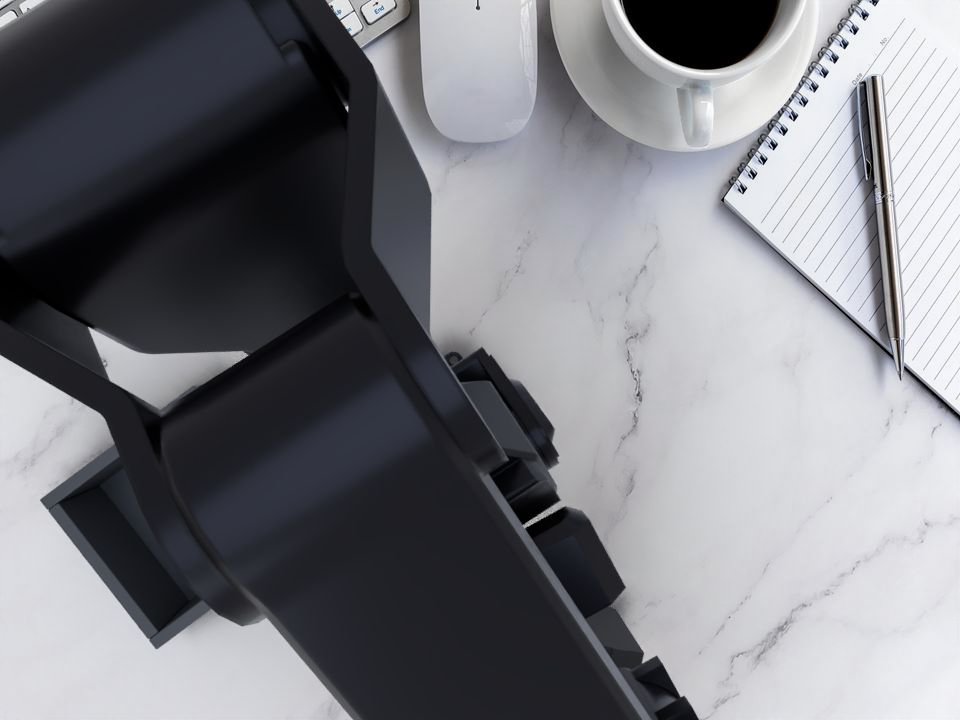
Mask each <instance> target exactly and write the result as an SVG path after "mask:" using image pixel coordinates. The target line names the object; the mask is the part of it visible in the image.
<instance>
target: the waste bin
mask: <svg viewBox="0 0 960 720" xmlns="http://www.w3.org/2000/svg"><path fill="white" fill-rule="evenodd" d="M203 384H204V383H203ZM203 384H197V385H192V386H191V387H189V388H188V389H186V390H185V391H184V392H183V393H181V394H179V396H177V397H176V398H174V399H173V400H172V401H170V402H169V403H168V404H167V405H165V406H163V408H161V409H160V410H161V411H163V412H164V411H165V408H167V407H168V406H170V405H171V404H173V403H175V402H176V401H178V400H179V399H181V398H182V397H184V396H186V395H187V394H189V393H190V392H192V391H193V390H195V389H196V388H198V387H200V386H201V385H203ZM39 501H40V503H41V504H42V506H43V507H44V508H45V509H46V510H47V511H48V513H49V514H50V516H51V517H52V518H53V520H54V521H55V522H56V524H58V526H59V527H60V529H62V531H63V532H64V533H65V535H66V536H67V537H68V539H69V540H70V542H72V544H73V545H74V546H75V548H76V549H77V550H78V551H79V553H80V554H81V555H82V557H83V558H84V559H85V560H86V562H87V563H88V564H89V566H90V567H91V568H92V569H93V571H94V572H95V574H96V575H98V577H99V578H100V580H101V582H103V583H104V585H105V586H106V587H107V589H108V590H109V591H110V592H111V594H112V595H113V596H114V598H115V599H116V600H117V601H118V603H119V604H120V605H121V607H122V608H123V609H124V610H125V612H126V614H128V616H129V617H130V618H131V620H132V621H133V622H134V624H136V626H137V627H138V628H139V630H140V631H141V632H142V634H143V635H144V636H145V637H146V638H147V640H148V641H149V642H150V644H151V645H152V646H153V647H154V649H155V650H159V649H160V648H161V647H163V646H164V645H165V644H167V643H169V641H171V640H172V639H173V638H174V637H176V636H177V635H178V634H180V633H182V632H183V631H184V630H186V628H188V627H189V626H191V625H192V624H193V623H194V622H196V621H198V620H199V619H200V618H201V617H203V616H204V615H205V614H207V613H208V612H209V611H211V610H212V609H211V608H210V607H209V606H208V605H207V604H206V603H205V602H204V601H203V600H202V599H201V598H200V597H199V596H197V595H196V594H195V593H194V592H193V591H192V590H191V589H190V588H189V587H188V586H187V584H186V583H185V581H184V580H183V579H182V577H181V576H180V575H179V573H178V572H177V571H176V569H175V568H174V566H173V565H172V564H171V562H170V561H169V560H168V558H167V557H166V555H165V554H164V553H163V551H162V550H161V548H160V546H159V544H158V542H157V540H156V538H155V536H154V534H153V532H152V531H151V529H150V527H149V525H148V523H147V521H146V519H145V517H144V515H143V513H142V511H141V509H140V506H139V504H138V501H137V499H136V496H135V494H134V491H133V489H132V486H131V484H130V481H129V479H128V476H127V474H126V471H125V468H124V466H123V463H122V461H121V458H120V456H119V453H118V451H117V448H116V446H115V443H113V445H111V446H110V447H109V448H107V449H106V450H104V451H103V452H101V453H100V454H99V455H98V456H97V457H95V458H94V459H92V460H91V461H90V462H89V463H87V464H86V465H84V466H83V467H81V468H80V469H78V470H77V471H76V472H75V473H73V474H72V475H71V476H70V477H68V478H67V479H66V480H64V481H63V482H61V483H60V484H58V485H57V486H56V487H54V488H53V489H52V490H51V491H49V492H48V493H46V494H44V495H43V496H42V497H41V498H40V499H39Z"/></svg>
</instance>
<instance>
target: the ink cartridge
mask: <svg viewBox="0 0 960 720" xmlns="http://www.w3.org/2000/svg"><path fill="white" fill-rule="evenodd" d="M585 620H586V622H587V623H588V625H589V626H590V628H591V629H592V631H593V632H594V634H595V635H596V637H597V638H598V640H599V641H600V643H601V644H602V646H603V647H604V649H605V650H606V652H607V653H608V655H609V656H610V658H611V659H612V661H613V662H614V664H615V665H616V667H617V668H628V669H630V670H631V669H633V668H635V667H637V666H639V665H640V664H642V663H643V661H644V656H645V652H644V651H643V649H642V647H641V646H640V644H639V643H638V641H637V639H636V638H635V637H634V635H633V633H632V632H631V630H630V628H629V627H628V626H627V624H626V623H625V621H624V620H623V618H622V616H621V615H620V613H619V612H618V610H617V609H616V608H614V607H613V606H611V605H610V606H608V607H606V608H604V609H603V610H601V611H599V612H597V613H595V614H594V615H592V616H590V617H588V618H586V619H585Z"/></svg>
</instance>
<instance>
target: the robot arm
mask: <svg viewBox="0 0 960 720" xmlns="http://www.w3.org/2000/svg"><path fill="white" fill-rule="evenodd" d="M379 77H380V76H379V75H378V73H377V71H376V68H375V67H374V65H373V63H372V62H371V60H370V58H369V57H368V56H367V55H366V53H365V52H364V51H363V49H362V48H361V46H360V45H359V43H357V41H356V40H355V38H354V37H353V35H352V34H351V33H350V32H349V30H348V29H347V28H346V26H345V25H344V23H343V22H342V21H341V19H340V18H339V17H338V15H337V14H336V12H335V11H334V10H333V8H332V7H331V5H330V4H329V2H328V1H327V0H43V1H41V2H39V3H37V4H36V5H35V6H32V7H31V8H30V9H27V10H26V11H25V12H23V13H22V14H20V15H18V16H17V17H15V18H14V19H12V20H10V21H9V22H7V23H6V24H4V25H2V26H1V27H0V356H1V357H2V358H4V359H6V360H8V361H9V362H11V363H13V364H14V365H15V366H18V367H20V368H21V369H23V370H25V371H26V372H28V373H30V374H32V375H33V376H35V377H37V378H39V380H42V381H43V382H45V383H46V384H49V385H50V386H51V387H53V388H55V389H57V390H59V391H61V392H62V393H64V394H65V395H67V396H69V397H71V398H73V399H74V400H76V401H78V402H79V403H81V404H83V405H85V406H86V407H88V408H89V409H91V410H93V411H95V412H96V413H98V414H100V416H101V417H103V419H104V421H105V423H106V426H107V429H108V431H109V433H110V435H111V438H112V440H113V444H115V446H116V448H117V451H118V453H119V456H120V458H121V461H122V463H123V466H124V468H125V471H126V474H127V476H128V479H129V481H130V484H131V486H132V489H133V491H134V494H135V496H136V499H137V501H138V504H139V506H140V509H141V511H142V513H143V515H144V517H145V519H146V521H147V523H148V525H149V527H150V529H151V531H152V532H153V534H154V536H155V538H156V540H157V542H158V544H159V546H160V548H161V550H162V551H163V553H164V554H165V555H166V557H167V558H168V560H169V561H170V562H171V564H172V565H173V566H174V568H175V569H176V571H177V572H178V573H179V575H180V576H181V577H182V579H183V580H184V581H185V583H186V584H187V586H188V587H189V588H190V589H191V590H192V591H193V592H194V593H195V594H196V595H197V596H199V597H200V598H201V599H202V600H203V601H204V602H205V603H206V604H207V605H208V606H209V607H210V608H211V610H212V611H213V612H214V613H215V614H216V615H217V616H219V617H222V618H224V619H226V620H227V621H230V622H232V623H234V624H236V625H238V626H240V627H242V628H243V627H246V626H251V625H255V624H259V623H261V622H262V621H264V620H265V619H267V620H268V622H270V624H271V625H272V626H273V627H274V628H275V629H276V631H277V632H278V633H279V634H280V636H282V638H283V639H284V640H285V641H286V643H287V644H288V645H289V646H290V648H291V649H292V650H293V651H294V652H295V653H296V654H297V655H298V657H299V658H300V659H301V660H302V662H303V663H304V664H305V665H306V666H307V667H308V668H309V670H310V671H311V673H312V674H313V675H315V677H316V679H318V680H319V682H320V683H321V684H322V685H323V686H324V687H325V689H326V690H327V691H328V692H329V693H330V694H331V696H332V697H333V698H334V699H335V701H336V702H337V703H338V704H339V706H340V707H341V708H342V709H343V710H344V711H345V712H346V714H348V716H349V717H350V718H351V720H700V719H699V717H698V715H697V713H696V711H695V710H694V707H693V705H692V704H691V702H690V701H689V700H688V699H687V697H686V696H685V695H682V696H681V695H680V693H679V691H678V689H677V687H676V685H675V684H674V682H673V680H672V678H671V676H670V674H669V673H668V670H667V668H666V667H665V665H664V663H663V662H662V661H661V659H660V658H659V656H658V655H655V656H653V657H651V658H650V659H648V660H646V661H644V662H642V664H640V665H639V666H637V667H635V668H633V669H631V670H630V669H628V668H617V667H616V665H615V664H614V662H613V661H612V659H611V658H610V656H609V655H608V653H607V652H606V650H605V649H604V647H603V646H602V644H601V643H600V641H599V640H598V638H597V637H596V635H595V634H594V632H593V631H592V629H591V628H590V626H589V625H588V623H587V622H586V620H585V619H586V618H588V617H590V616H592V615H594V614H595V613H597V612H599V611H601V610H603V609H604V608H606V607H608V606H610V607H611V606H612V604H614V603H615V601H616V600H617V599H618V598H619V597H620V595H621V594H622V593H623V592H625V590H626V588H627V587H626V584H625V583H624V581H623V579H622V577H621V575H620V574H619V571H618V570H617V568H616V566H615V564H614V563H613V561H612V559H611V557H610V555H609V553H608V551H607V550H606V547H605V546H604V544H603V542H602V540H601V539H600V537H599V535H598V533H597V531H596V529H595V527H594V526H593V524H592V522H591V520H590V518H589V517H588V516H587V515H586V513H584V511H583V510H582V509H577V508H575V507H574V508H573V507H570V506H567V505H564V506H562V507H560V508H559V509H557V510H556V511H553V512H552V513H549V514H548V515H546V516H543V518H541V519H538V520H537V521H535V522H534V523H532V524H530V525H528V526H526V527H524V526H525V524H527V523H529V522H530V521H532V520H534V519H535V518H536V517H538V516H540V515H541V514H543V513H544V512H546V511H548V510H549V509H550V508H552V507H554V506H555V505H557V504H558V503H559V502H561V501H562V499H561V498H560V496H559V495H558V493H557V492H558V484H557V483H556V481H555V479H554V478H553V476H552V474H551V473H550V471H549V470H551V469H553V468H554V467H556V466H557V465H558V464H560V461H559V459H558V458H559V457H560V454H559V452H558V451H557V448H556V447H555V445H554V444H553V441H554V436H555V431H556V429H555V427H554V425H553V424H552V422H551V420H549V419H550V418H549V417H548V416H547V415H546V414H545V412H544V411H543V410H542V409H541V407H540V406H539V404H538V403H537V402H536V400H535V399H534V397H533V396H532V395H531V393H530V392H529V390H528V389H527V388H526V386H525V385H524V384H523V383H522V381H520V380H518V379H514V378H509V377H508V376H507V374H506V373H505V371H504V370H503V369H502V368H501V365H499V363H498V362H497V360H496V359H495V357H494V356H493V355H492V354H488V353H487V351H486V349H485V348H484V347H483V346H481V347H479V348H477V349H476V350H474V351H473V352H471V353H470V354H468V355H467V356H465V357H463V356H462V355H461V354H460V353H459V352H457V351H450V352H448V353H447V354H445V355H443V353H442V352H441V350H440V348H439V347H438V345H437V343H436V342H435V341H434V339H433V338H432V334H431V290H432V289H431V286H432V285H431V281H432V279H431V276H432V275H431V274H432V205H433V203H432V202H433V201H432V197H433V196H432V195H433V194H432V191H431V188H430V184H429V181H428V177H427V176H426V173H425V172H424V170H423V169H424V168H423V167H422V165H421V163H420V161H419V159H418V157H417V155H416V153H415V151H414V148H413V147H412V144H411V142H410V140H409V138H408V136H407V133H406V131H405V130H404V128H403V126H402V125H403V124H402V123H401V121H400V119H399V117H398V114H397V113H396V111H395V109H394V107H393V105H392V102H391V99H389V96H388V94H387V92H386V89H385V87H384V86H383V84H382V81H381V79H380V78H379ZM90 329H91V330H93V331H95V332H97V333H99V334H100V335H103V336H105V337H106V338H108V339H110V340H111V341H114V342H116V343H117V344H120V345H121V346H123V347H125V348H127V349H129V350H131V351H133V352H135V353H140V354H146V355H171V354H172V355H173V354H175V355H176V354H203V353H205V354H206V353H233V352H243V353H245V354H246V356H245V357H243V358H242V359H240V360H238V361H237V362H235V363H234V364H232V365H230V366H229V367H228V368H226V369H225V370H223V371H221V372H220V373H218V374H217V375H215V376H214V377H212V378H211V379H208V380H207V381H206V382H204V383H203V385H202V384H200V385H201V386H200V387H198V388H196V389H195V390H193V391H192V392H190V393H189V394H187V395H186V396H184V397H182V398H181V399H179V400H178V401H176V402H175V403H173V404H171V405H170V406H168V407H167V408H165V411H164V412H163V411H161V409H160V408H158V407H156V406H155V405H153V404H151V403H149V402H148V401H146V400H145V399H142V398H140V397H139V396H137V395H135V394H133V393H132V392H130V391H129V390H127V389H125V388H123V387H122V386H120V385H119V384H117V383H114V382H113V381H111V380H110V377H109V375H108V373H107V370H106V367H105V365H104V363H103V360H102V357H101V355H100V353H99V350H98V348H97V345H96V343H95V341H94V338H93V336H92V333H91V331H90ZM451 357H456V358H457V362H455V363H453V362H451Z"/></svg>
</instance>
